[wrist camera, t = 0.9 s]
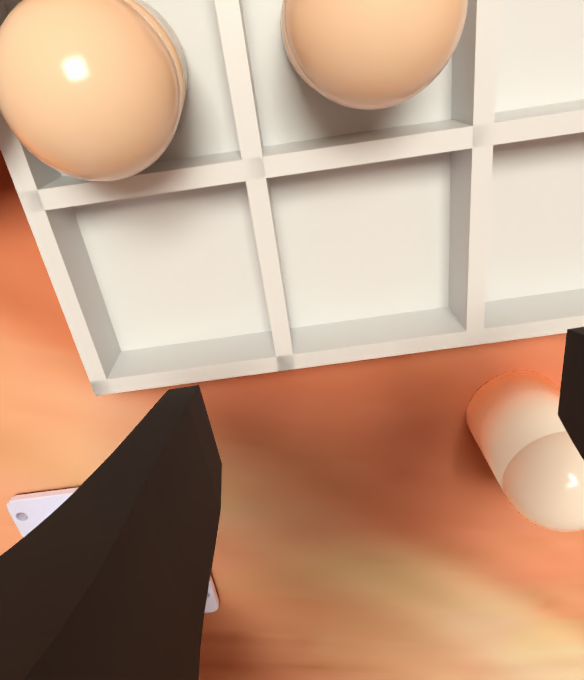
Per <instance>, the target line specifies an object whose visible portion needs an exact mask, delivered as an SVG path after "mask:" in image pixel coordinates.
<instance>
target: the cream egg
mask: <svg viewBox="0 0 584 680" xmlns="http://www.w3.org/2000/svg"><path fill="white" fill-rule="evenodd" d="M559 398H560V391H559V389H558V388H557V387H556V386H555V385H554V384H553V383H552V381H550V380H549V379H548V378H547V377H545V376H544V375H542V374H540V373H537V372H533V371H523V370H521V371H512V372H508V373H504V374H502V375H499V376H497V377H495V378H493V379H491V380H490V381H488V382H486V383H485V384H484V385H483V386H482V387H480V388H479V389H478V390H477V392H476V393H475V394H474V395H473V397H472V399H471V400H470V402H469V405H468V408H467V413H466V420H467V425H468V427H469V429H470V431H471V433H472V435H473V437H474V438H475V440H476V442H477V444H478V446H479V448H480V450H481V451H482V453H483V455H484V457H485V459H486V461H487V463H488V464H489V466H490V468H491V470H492V472H493V474H494V476H495V477H496V479H497V481H498V483H499V485H500V487H501V489H502V490H503V492H504V494H505V496H506V497H507V499H508V500H509V502H510V504H511V505H512V506H513V507H514V508H515V509H516V510H517V511H518V512H519V513H520V514H521V515H522V516H523V517H525V518H526V519H527V520H529V521H531V522H532V523H534V524H536V525H539V526H541V527H544V528H546V529H550V530H555V531H578V530H583V529H584V460H583V459H582V457H581V455H580V454H579V452H578V450H577V449H576V447H575V445H574V444H573V442H572V440H571V439H570V437H569V435H568V433H567V431H566V429H565V428H564V426H563V424H562V422H561V420H560V418H559V417H558V407H559Z"/></svg>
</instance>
